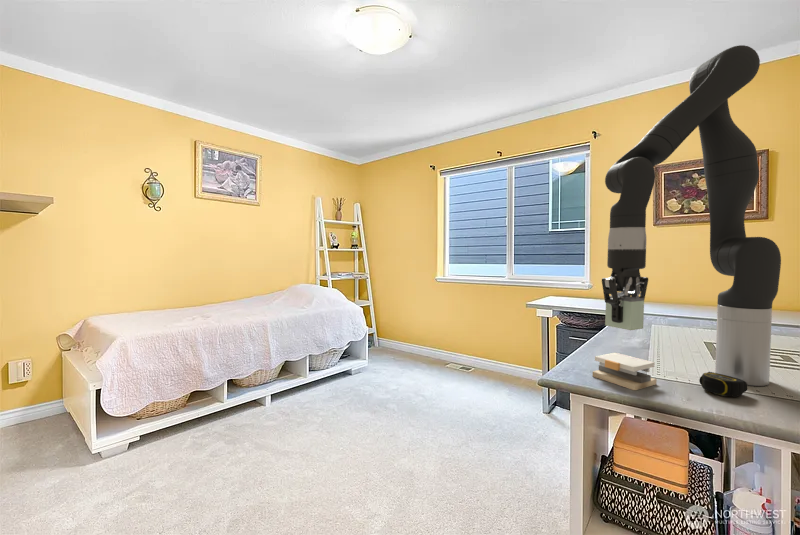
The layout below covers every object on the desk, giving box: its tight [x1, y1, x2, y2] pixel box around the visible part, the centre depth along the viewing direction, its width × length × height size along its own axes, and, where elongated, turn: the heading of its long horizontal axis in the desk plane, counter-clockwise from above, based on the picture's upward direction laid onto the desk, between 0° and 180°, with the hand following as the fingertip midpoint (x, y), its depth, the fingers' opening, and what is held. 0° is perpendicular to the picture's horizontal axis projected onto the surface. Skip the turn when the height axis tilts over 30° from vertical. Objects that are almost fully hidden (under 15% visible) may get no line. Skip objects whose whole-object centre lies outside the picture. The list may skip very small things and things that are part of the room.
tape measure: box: [698, 371, 749, 397], centre depth 77 cm, size 7×7×4 cm
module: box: [604, 295, 645, 331], centre depth 84 cm, size 5×6×7 cm
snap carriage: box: [594, 352, 656, 375], centre depth 84 cm, size 8×9×2 cm
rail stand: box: [592, 365, 658, 391], centre depth 85 cm, size 8×10×2 cm
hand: (624, 321), depth 84 cm, fingers closed on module, 4 cm apart
